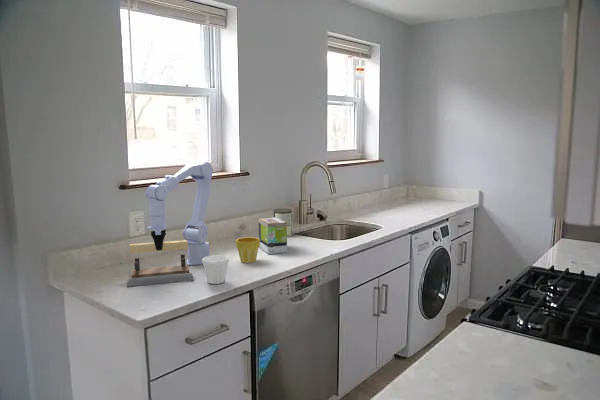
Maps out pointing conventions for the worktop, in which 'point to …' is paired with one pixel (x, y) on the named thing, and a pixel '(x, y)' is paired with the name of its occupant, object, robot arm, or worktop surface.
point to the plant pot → (248, 249)
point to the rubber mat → (160, 280)
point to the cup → (215, 268)
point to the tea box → (273, 235)
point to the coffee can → (285, 218)
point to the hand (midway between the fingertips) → (159, 249)
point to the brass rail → (151, 247)
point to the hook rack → (159, 269)
